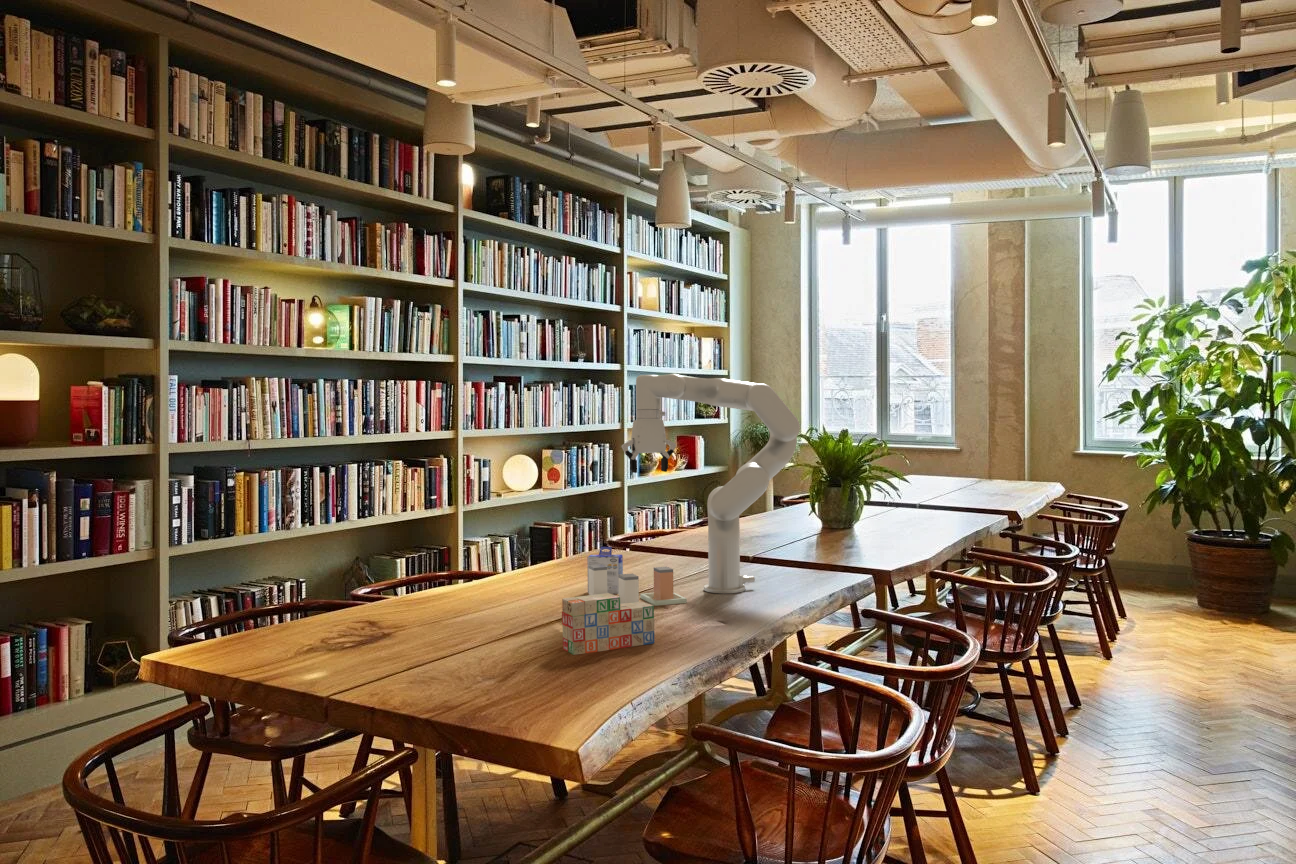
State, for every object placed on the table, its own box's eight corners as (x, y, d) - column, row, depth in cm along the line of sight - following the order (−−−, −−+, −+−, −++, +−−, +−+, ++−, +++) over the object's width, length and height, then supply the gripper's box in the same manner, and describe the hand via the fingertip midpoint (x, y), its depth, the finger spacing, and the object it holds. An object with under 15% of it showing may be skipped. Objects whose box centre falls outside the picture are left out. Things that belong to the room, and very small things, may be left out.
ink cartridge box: (623, 594, 303) (623, 546, 302) (619, 598, 297) (619, 549, 297) (591, 593, 305) (591, 545, 304) (587, 597, 299) (586, 548, 299)
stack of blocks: (642, 638, 247) (642, 588, 247) (655, 644, 242) (654, 592, 241) (562, 649, 237) (561, 597, 237) (572, 655, 232) (572, 602, 231)
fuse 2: (632, 609, 277) (632, 573, 276) (638, 612, 272) (638, 576, 272) (618, 610, 275) (618, 574, 275) (624, 613, 271) (624, 577, 270)
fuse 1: (602, 598, 293) (601, 564, 292) (607, 601, 288) (607, 566, 288) (588, 599, 291) (588, 565, 291) (594, 602, 286) (593, 567, 286)
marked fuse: (666, 600, 290) (666, 566, 290) (673, 603, 285) (673, 569, 285) (653, 601, 289) (653, 567, 288) (660, 604, 284) (660, 570, 284)
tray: (671, 599, 294) (671, 591, 294) (686, 607, 283) (686, 598, 283) (640, 602, 291) (640, 593, 291) (654, 610, 280) (654, 601, 280)
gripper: (670, 415, 313) (671, 470, 313) (617, 415, 307) (618, 472, 307) (679, 415, 306) (680, 471, 306) (625, 416, 300) (626, 473, 300)
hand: (649, 471), depth 307 cm, fingers open, 9 cm apart
